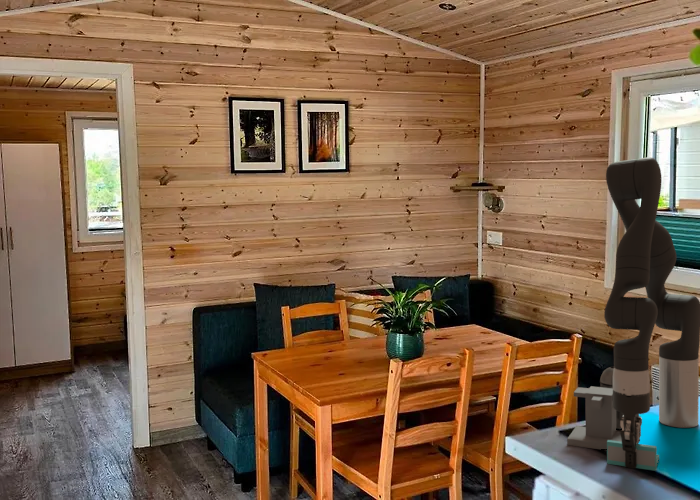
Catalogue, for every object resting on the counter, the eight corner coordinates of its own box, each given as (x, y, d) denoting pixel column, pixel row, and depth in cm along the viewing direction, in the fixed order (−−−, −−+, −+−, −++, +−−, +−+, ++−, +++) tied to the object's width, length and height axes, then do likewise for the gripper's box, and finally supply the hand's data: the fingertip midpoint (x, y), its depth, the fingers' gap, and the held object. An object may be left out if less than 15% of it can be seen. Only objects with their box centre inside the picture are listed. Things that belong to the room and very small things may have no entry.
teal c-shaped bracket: (612, 452, 164) (612, 431, 163) (659, 459, 159) (659, 437, 158) (607, 463, 157) (606, 441, 157) (655, 470, 153) (655, 448, 152)
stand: (576, 431, 179) (576, 384, 178) (631, 438, 173) (631, 390, 172) (567, 444, 170) (566, 395, 169) (624, 452, 164) (624, 401, 163)
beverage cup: (593, 424, 184) (593, 348, 183) (617, 421, 186) (616, 345, 185) (612, 433, 177) (612, 354, 176) (636, 429, 179) (636, 351, 178)
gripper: (617, 379, 162) (618, 453, 163) (607, 394, 150) (608, 474, 151) (653, 382, 158) (653, 458, 160) (645, 398, 147) (645, 480, 148)
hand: (631, 466), depth 156 cm, fingers closed on teal c-shaped bracket, 1 cm apart
